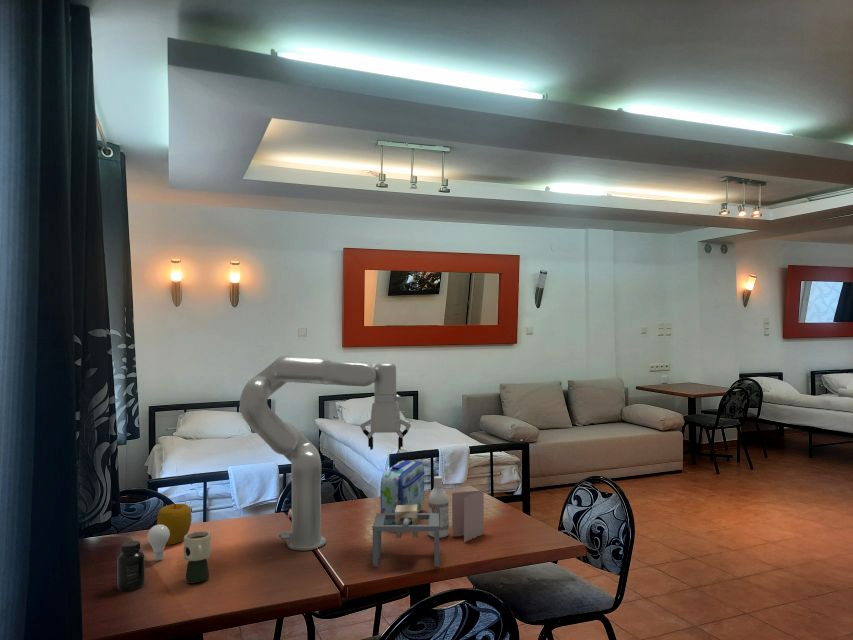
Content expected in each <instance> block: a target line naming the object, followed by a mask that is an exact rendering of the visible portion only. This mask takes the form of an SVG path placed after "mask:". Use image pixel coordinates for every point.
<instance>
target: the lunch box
mask: <svg viewBox="0 0 853 640" xmlns="http://www.w3.org/2000/svg"><path fill="white" fill-rule="evenodd" d="M424 468H425V467H424V463H423V462H422V461H421V460H419V461H415V460H413V461H411V460H401V461H399V462H397V463H396V464H394V465H392V466H391V467H389V468H388V469H386V470H385V471H384V472H383V474H382V475H381V480H380V490H379V491H380V493H379V494H380V513H395V510H396V505H416V504H417V509H418V513H421V511H422V509H423V505H424V502H425V501H424V500H425V474H426V473H425V469H424ZM403 522H404V519H402V525H404V524H403ZM410 523H412V519H409V524H410ZM384 525H396V524H395V519H387V520H385V524H384Z"/></svg>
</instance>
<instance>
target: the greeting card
mask: <svg viewBox="0 0 853 640" xmlns="http://www.w3.org/2000/svg"><path fill="white" fill-rule="evenodd" d="M484 497H485V496H484V490H473V491H471V490H470V491H460V492H459V491H458V492H452V494H451V498H452V499H451V503H452V505H451V507H452V508H451V511H452V512H451V513H452V519H451V521H452V523H451V525H452V527H451V529H452V530H451V531H452V537H453V536H455V537H461V536H460V535H464V536H463V543H464V542H465V543H467V542H468V540H469V541H471V540H473V539H475V538H478V537H480V536H482V535H484V533H485V532H484V530H485V528H484V527H485V525H484V524H485V523H484V522H485V521H484V520H485V519H484V515H485V513H484V512H485V510H484V509H485V508H484V507H485V506H484V504H485V503H484V500H485V499H484ZM477 536H478V537H477ZM472 538H473V539H472ZM470 539H471V540H470ZM466 541H467V542H466Z"/></svg>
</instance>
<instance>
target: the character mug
mask: <svg viewBox="0 0 853 640" xmlns="http://www.w3.org/2000/svg"><path fill="white" fill-rule="evenodd" d="M211 536H212V535H211V532H209V531H206V530H197V531H193V532H188V534H186V535H185V536H184V540H183V559H185V561H187V565H186V570H185V571H186V574H185V582H186V583H188V584H197V583H198V584H199V583H200V582H203V581H205V580H208V579H209V578H210V572H209V570H210V569H209V562H208V560H207V559H208V558H209V557H211V553H212V552H211V548H212V545H211V542H212V541H211Z"/></svg>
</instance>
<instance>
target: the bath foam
mask: <svg viewBox="0 0 853 640" xmlns="http://www.w3.org/2000/svg"><path fill="white" fill-rule="evenodd" d="M427 503H428V506H427V507H428V512H427V513H439V539H441V538H446V537H447V536H449V530H450V529H449V528H450V526H449V525H450V522H449V520H450V518H449V514H450V513H449V509H450V508H449V504H450V503H449V496H448V494H447V492H446V491H445V488H444V487H443V476H440V475H438V476H437V475H436V476H434V478H433V489H432V490H431V491H430V494H429V496H428V502H427ZM427 520H428V521H429V519H427ZM428 536H429V537H431V538H434V531H428Z"/></svg>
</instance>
